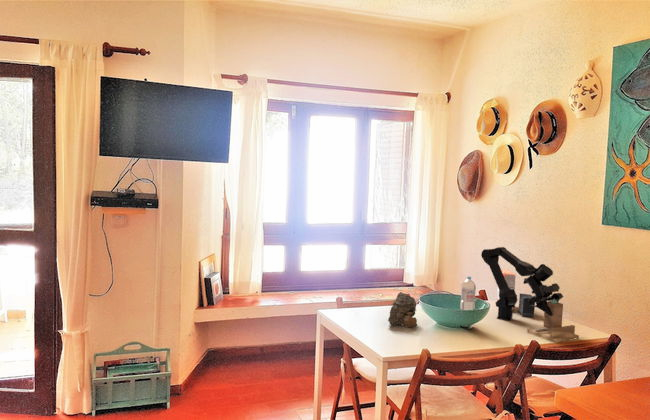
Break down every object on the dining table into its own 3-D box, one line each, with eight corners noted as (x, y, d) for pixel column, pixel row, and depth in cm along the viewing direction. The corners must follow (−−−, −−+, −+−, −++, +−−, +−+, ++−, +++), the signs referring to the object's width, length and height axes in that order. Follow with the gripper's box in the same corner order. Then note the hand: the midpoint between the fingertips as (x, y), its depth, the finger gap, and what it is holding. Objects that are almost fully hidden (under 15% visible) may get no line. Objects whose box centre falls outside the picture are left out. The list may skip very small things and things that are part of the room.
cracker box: (496, 303, 273) (498, 269, 272) (506, 304, 273) (508, 269, 271) (502, 310, 259) (505, 273, 258) (513, 310, 259) (516, 274, 257)
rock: (391, 286, 233) (417, 286, 223) (402, 304, 240) (429, 304, 230) (379, 316, 222) (406, 317, 212) (392, 334, 229) (418, 335, 219)
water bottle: (473, 325, 229) (476, 276, 227) (473, 329, 222) (476, 278, 221) (459, 323, 231) (462, 274, 229) (458, 327, 224) (461, 277, 223)
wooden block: (543, 326, 219) (545, 299, 218) (551, 325, 221) (553, 298, 220) (553, 330, 214) (555, 302, 213) (561, 328, 216) (563, 301, 216)
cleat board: (527, 332, 221) (527, 321, 220) (549, 328, 228) (550, 317, 228) (555, 342, 207) (556, 331, 207) (578, 338, 214) (579, 327, 214)
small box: (534, 317, 246) (536, 298, 246) (522, 316, 248) (523, 297, 247) (530, 312, 257) (531, 294, 256) (517, 311, 258) (519, 293, 257)
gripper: (534, 278, 215) (554, 308, 206) (561, 276, 224) (580, 304, 215) (520, 291, 223) (538, 320, 214) (546, 288, 231) (564, 316, 222)
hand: (555, 314), depth 216 cm, fingers closed on wooden block, 5 cm apart
